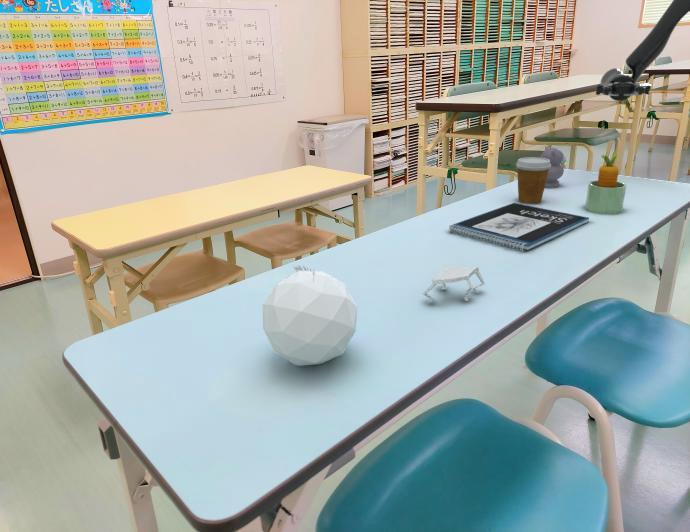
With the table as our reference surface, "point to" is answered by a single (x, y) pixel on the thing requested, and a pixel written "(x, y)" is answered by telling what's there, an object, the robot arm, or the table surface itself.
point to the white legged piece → (455, 278)
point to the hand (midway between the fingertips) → (624, 91)
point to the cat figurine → (553, 166)
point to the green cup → (605, 198)
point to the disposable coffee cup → (532, 178)
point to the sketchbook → (519, 225)
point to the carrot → (608, 173)
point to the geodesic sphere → (309, 317)
